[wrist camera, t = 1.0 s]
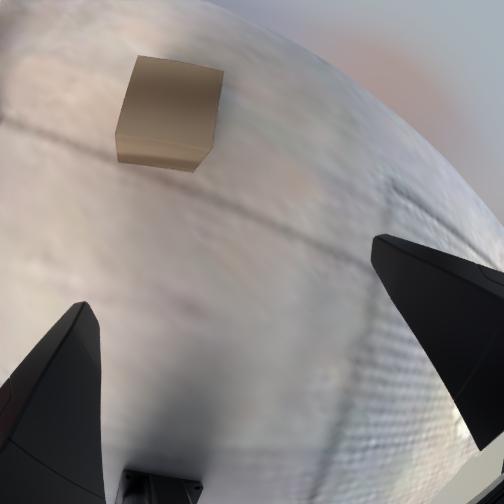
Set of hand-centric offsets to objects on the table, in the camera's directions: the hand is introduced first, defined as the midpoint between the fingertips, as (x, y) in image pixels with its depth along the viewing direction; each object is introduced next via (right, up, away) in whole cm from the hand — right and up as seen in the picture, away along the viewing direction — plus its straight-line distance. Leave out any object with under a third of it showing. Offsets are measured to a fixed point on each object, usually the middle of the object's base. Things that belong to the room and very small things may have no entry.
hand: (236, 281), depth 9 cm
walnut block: (-6, +9, +10) cm, 14 cm away
